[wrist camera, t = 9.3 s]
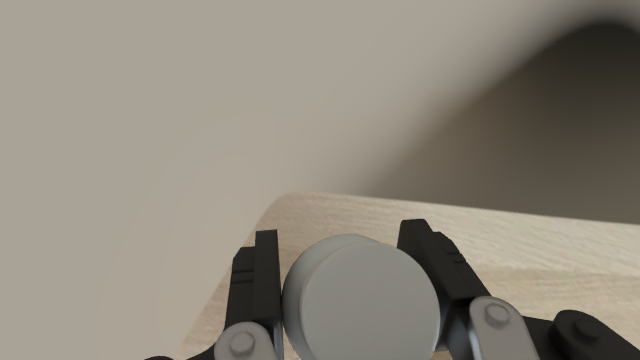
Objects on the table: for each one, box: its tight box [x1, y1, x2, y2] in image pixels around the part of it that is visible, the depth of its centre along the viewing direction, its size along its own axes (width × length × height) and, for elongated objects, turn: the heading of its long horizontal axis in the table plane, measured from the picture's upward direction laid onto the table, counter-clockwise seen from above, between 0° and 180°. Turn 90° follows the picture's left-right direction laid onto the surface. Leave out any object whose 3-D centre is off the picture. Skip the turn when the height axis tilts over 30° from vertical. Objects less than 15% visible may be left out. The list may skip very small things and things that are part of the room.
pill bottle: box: [281, 234, 440, 360], centre depth 12 cm, size 4×4×8 cm
